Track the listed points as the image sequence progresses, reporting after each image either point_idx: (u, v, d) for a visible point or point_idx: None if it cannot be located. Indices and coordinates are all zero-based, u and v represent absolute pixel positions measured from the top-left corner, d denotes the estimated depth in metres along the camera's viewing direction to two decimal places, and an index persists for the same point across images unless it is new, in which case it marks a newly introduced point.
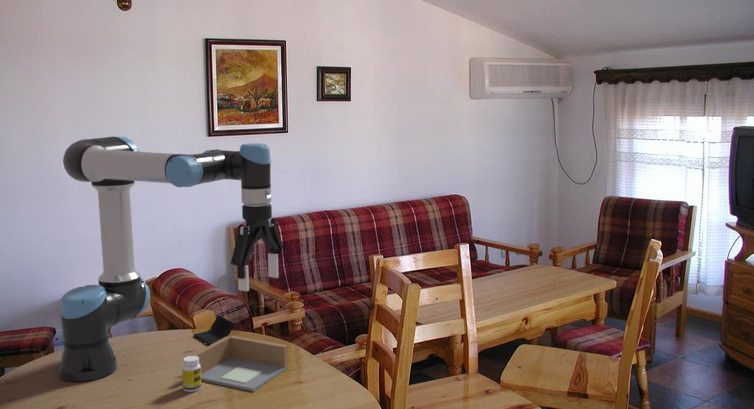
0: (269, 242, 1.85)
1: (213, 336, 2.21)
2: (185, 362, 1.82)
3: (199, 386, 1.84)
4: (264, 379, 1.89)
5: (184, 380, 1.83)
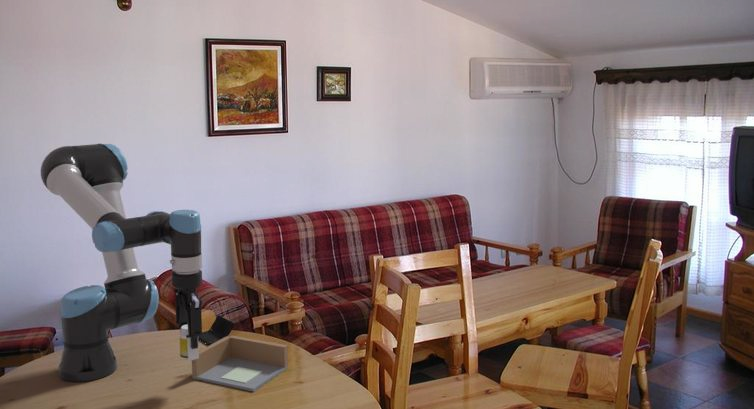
0: None
1: (213, 336, 2.21)
2: (183, 330, 1.81)
3: None
4: (264, 379, 1.89)
5: (181, 348, 1.82)
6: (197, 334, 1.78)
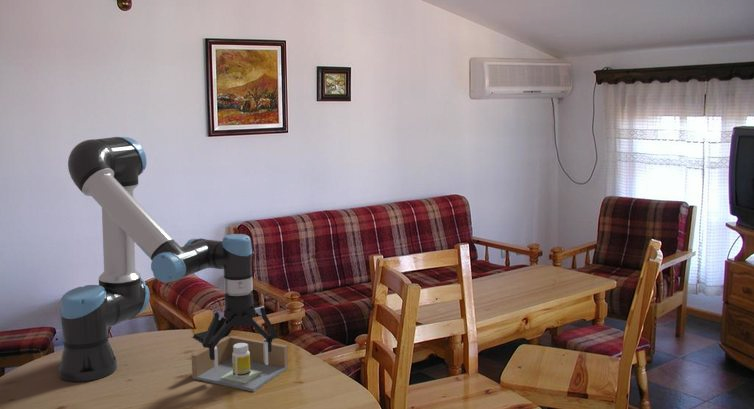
0: None
1: (213, 336, 2.21)
2: (244, 348, 1.89)
3: None
4: (264, 379, 1.89)
5: (245, 366, 1.89)
6: None
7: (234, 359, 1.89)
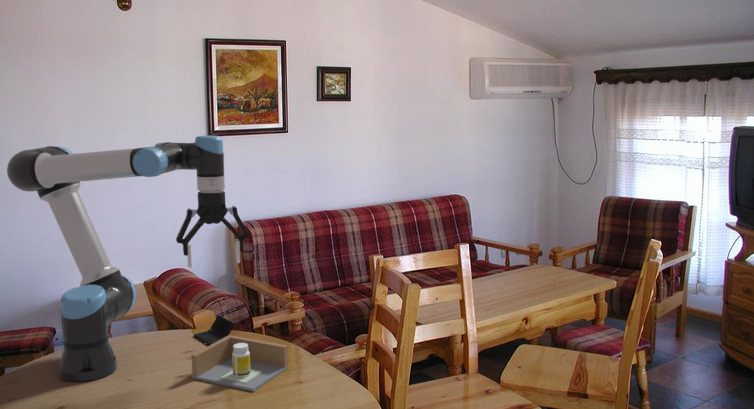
0: None
1: (213, 336, 2.21)
2: (244, 348, 1.89)
3: None
4: (264, 379, 1.89)
5: (245, 366, 1.89)
6: (248, 234, 2.02)
7: (234, 359, 1.89)
